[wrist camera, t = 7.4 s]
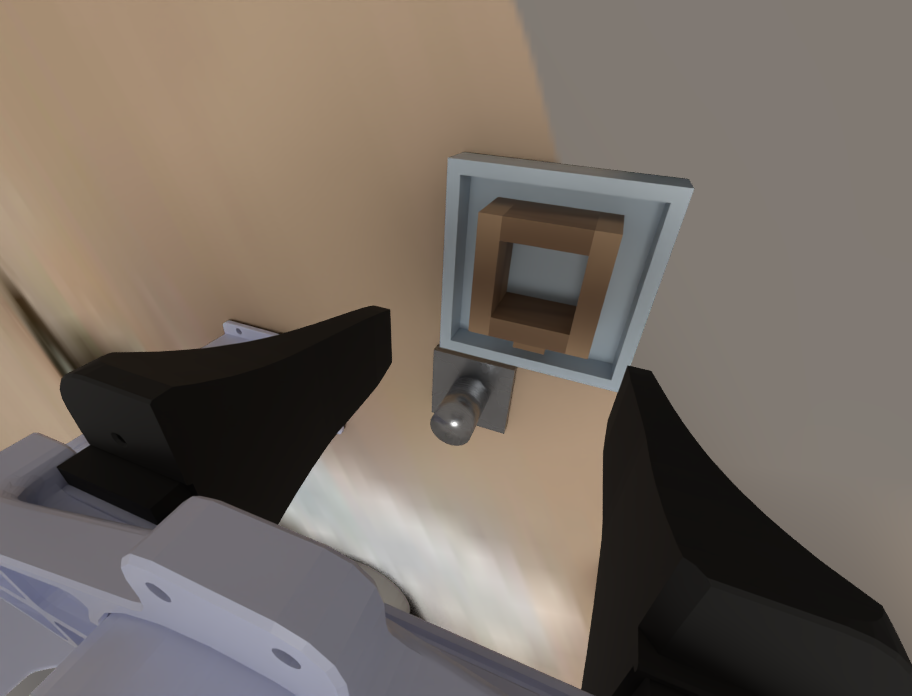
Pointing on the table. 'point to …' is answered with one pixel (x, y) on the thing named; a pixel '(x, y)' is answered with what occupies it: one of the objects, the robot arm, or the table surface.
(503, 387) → the metal knob
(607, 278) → the brown wooden frame
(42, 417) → the table surface
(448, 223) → the tray
